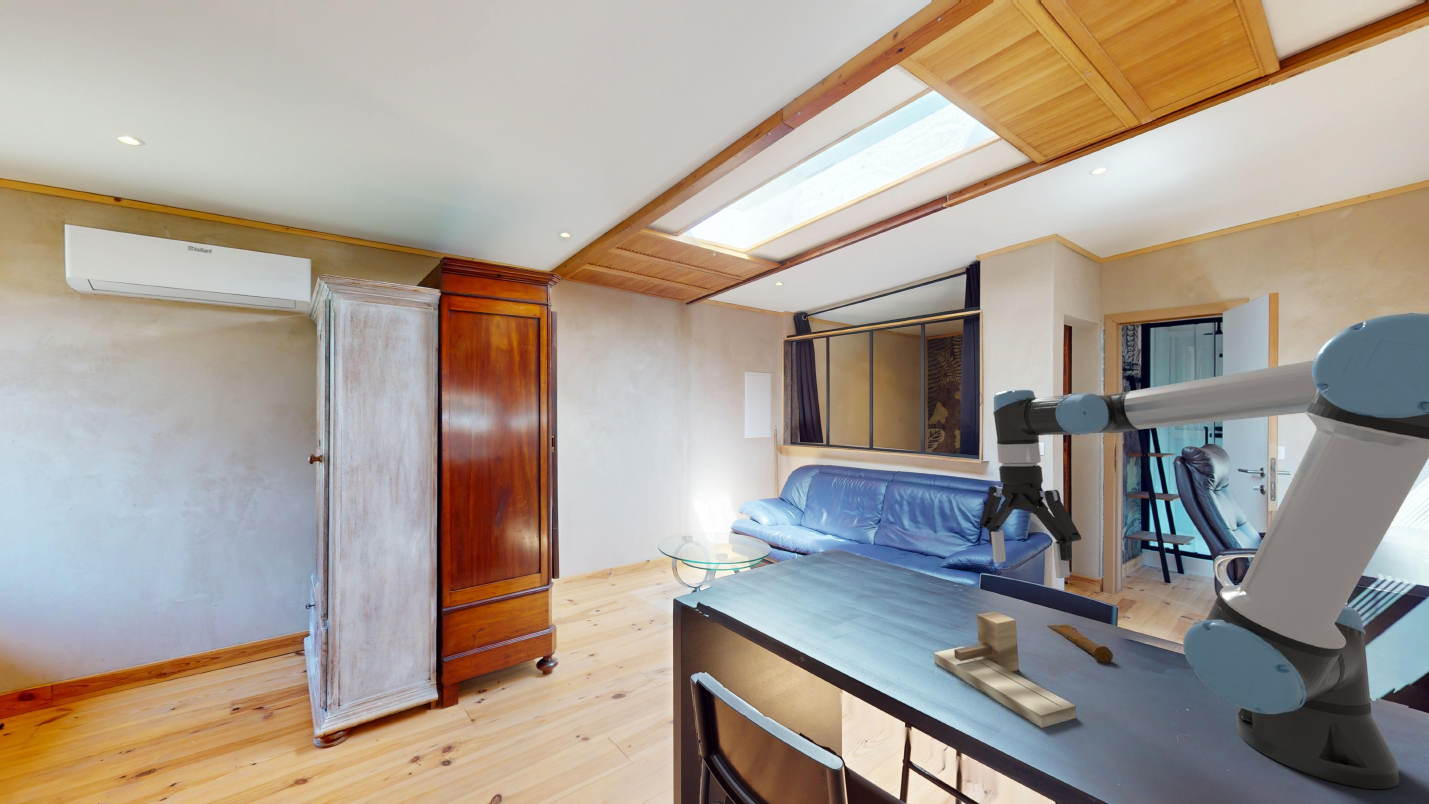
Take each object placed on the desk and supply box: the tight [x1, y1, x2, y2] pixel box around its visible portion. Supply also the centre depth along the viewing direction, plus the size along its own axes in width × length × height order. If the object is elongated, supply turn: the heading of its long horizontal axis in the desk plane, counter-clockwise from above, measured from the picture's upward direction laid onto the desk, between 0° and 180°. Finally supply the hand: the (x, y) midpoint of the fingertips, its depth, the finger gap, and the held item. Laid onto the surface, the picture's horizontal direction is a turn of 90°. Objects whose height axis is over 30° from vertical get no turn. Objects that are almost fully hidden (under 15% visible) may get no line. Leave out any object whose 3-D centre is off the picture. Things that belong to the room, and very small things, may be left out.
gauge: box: [953, 611, 1020, 672], centre depth 99 cm, size 5×13×10 cm, turn 108°
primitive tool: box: [1046, 624, 1114, 664], centre depth 110 cm, size 19×6×4 cm, turn 172°
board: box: [933, 646, 1077, 729], centre depth 92 cm, size 24×8×2 cm, turn 18°
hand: (1029, 569), depth 98 cm, fingers open, 13 cm apart
